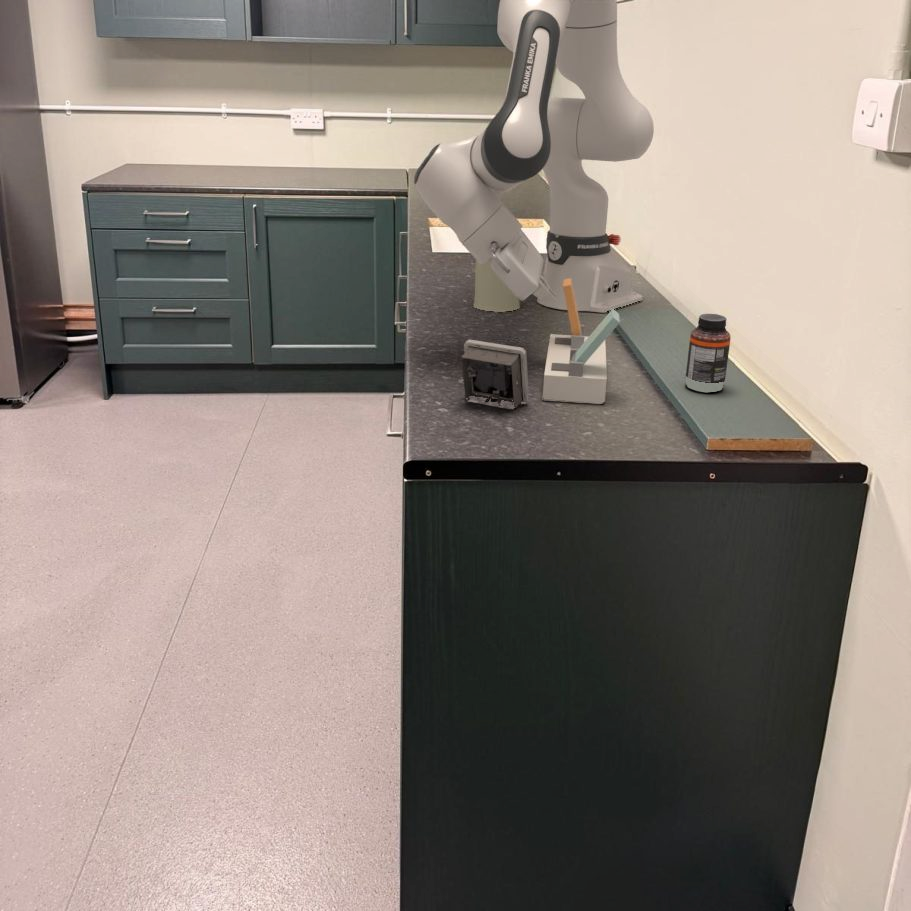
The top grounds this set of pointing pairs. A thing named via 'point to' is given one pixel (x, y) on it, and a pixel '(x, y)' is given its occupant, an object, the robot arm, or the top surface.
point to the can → (492, 291)
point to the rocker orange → (572, 307)
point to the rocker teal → (597, 337)
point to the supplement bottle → (708, 350)
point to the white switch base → (574, 371)
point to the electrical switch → (495, 371)
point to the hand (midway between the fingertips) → (553, 302)
